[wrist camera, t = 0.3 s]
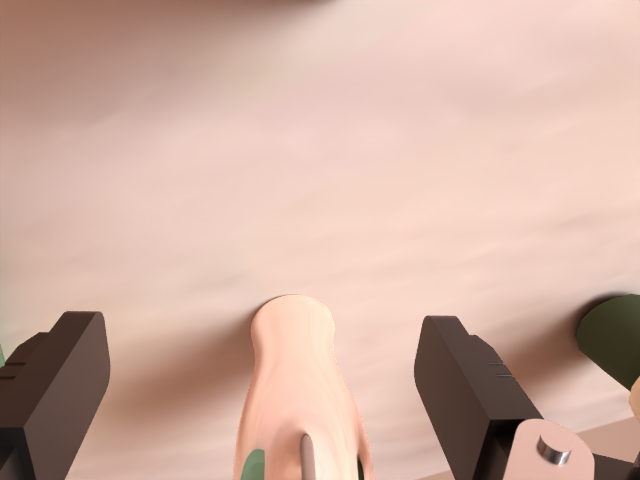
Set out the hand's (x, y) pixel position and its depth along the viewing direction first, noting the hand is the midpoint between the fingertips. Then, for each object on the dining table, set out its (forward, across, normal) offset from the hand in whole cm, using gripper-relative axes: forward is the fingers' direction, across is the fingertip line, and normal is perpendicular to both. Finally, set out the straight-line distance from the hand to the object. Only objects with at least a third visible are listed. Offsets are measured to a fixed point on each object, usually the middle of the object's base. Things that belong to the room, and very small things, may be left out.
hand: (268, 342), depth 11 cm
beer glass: (+18, -2, +12) cm, 22 cm away
